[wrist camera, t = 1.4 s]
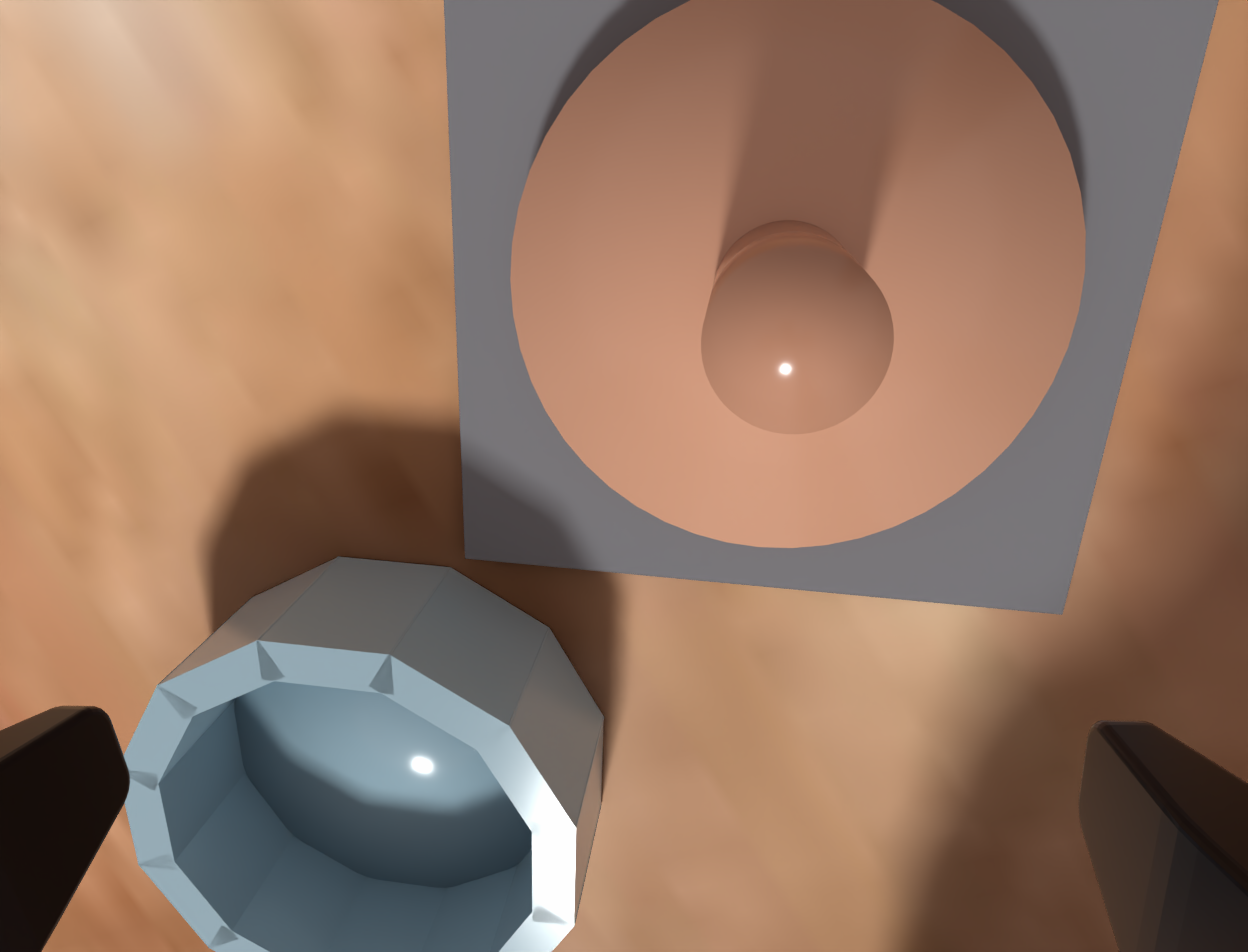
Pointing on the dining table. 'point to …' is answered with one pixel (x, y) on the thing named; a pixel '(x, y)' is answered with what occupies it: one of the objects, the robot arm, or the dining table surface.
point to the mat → (955, 528)
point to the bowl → (371, 771)
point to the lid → (797, 265)
